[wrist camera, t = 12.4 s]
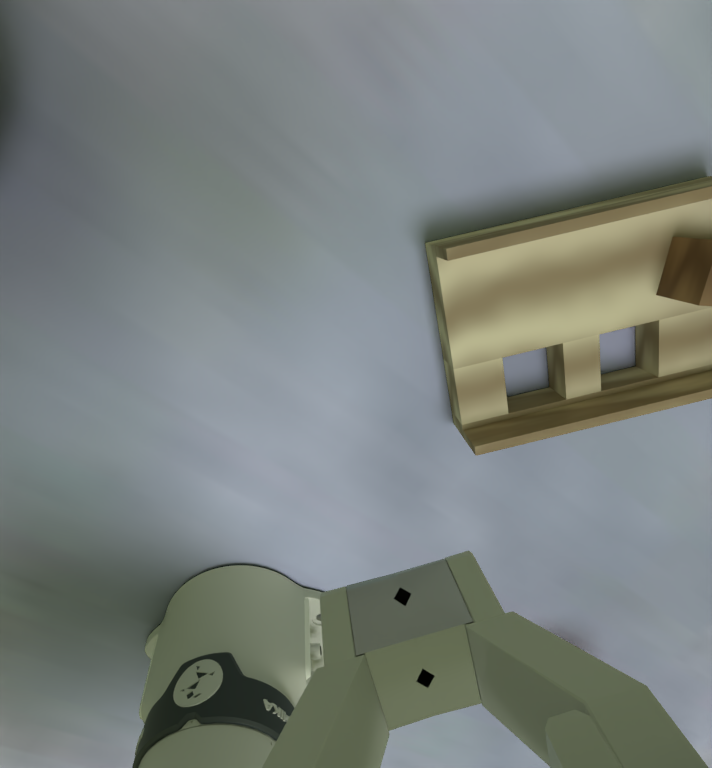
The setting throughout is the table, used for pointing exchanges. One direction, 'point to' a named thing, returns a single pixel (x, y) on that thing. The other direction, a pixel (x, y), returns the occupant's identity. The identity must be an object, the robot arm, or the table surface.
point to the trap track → (571, 315)
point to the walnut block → (688, 271)
